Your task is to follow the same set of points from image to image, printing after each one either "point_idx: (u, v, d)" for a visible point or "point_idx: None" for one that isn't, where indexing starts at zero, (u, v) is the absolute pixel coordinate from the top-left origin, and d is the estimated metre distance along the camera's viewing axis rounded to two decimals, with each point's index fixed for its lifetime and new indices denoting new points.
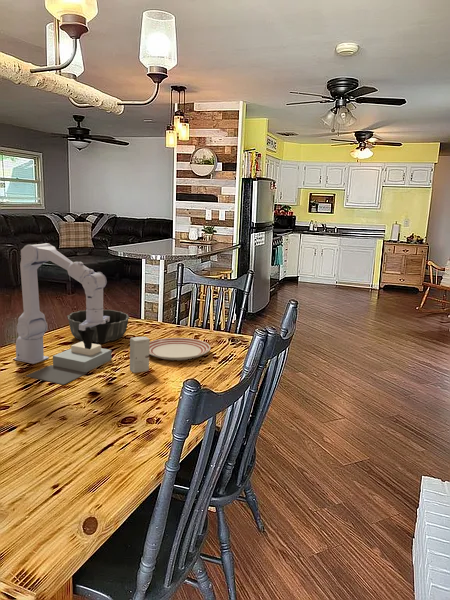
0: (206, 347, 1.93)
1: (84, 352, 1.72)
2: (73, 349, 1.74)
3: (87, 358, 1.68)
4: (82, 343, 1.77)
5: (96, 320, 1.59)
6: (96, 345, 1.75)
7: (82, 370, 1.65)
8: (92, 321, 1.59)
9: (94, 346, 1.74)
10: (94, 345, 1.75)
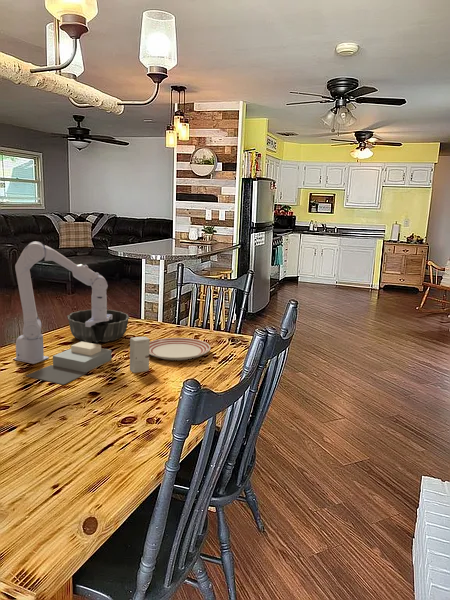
0: (206, 347, 1.93)
1: (84, 352, 1.72)
2: (73, 349, 1.74)
3: (87, 358, 1.68)
4: (82, 343, 1.77)
5: (100, 318, 1.78)
6: (96, 345, 1.75)
7: (82, 370, 1.65)
8: (97, 319, 1.77)
9: (94, 346, 1.74)
10: (94, 345, 1.75)
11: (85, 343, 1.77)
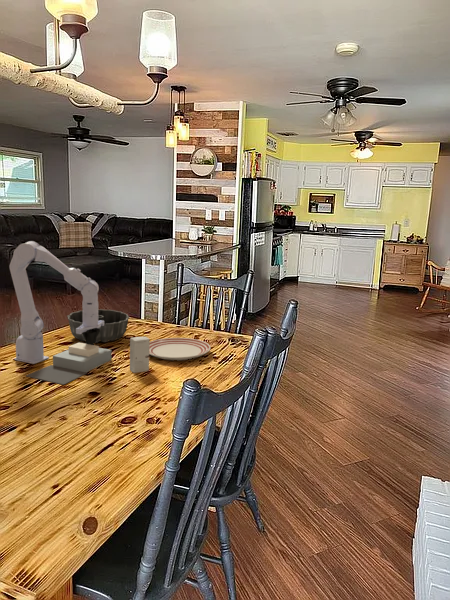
0: (206, 347, 1.93)
1: (82, 354, 1.71)
2: (70, 350, 1.72)
3: (87, 358, 1.68)
4: (79, 344, 1.75)
5: (92, 324, 1.73)
6: (94, 346, 1.74)
7: (82, 370, 1.65)
8: (88, 325, 1.73)
9: (92, 347, 1.73)
10: (92, 346, 1.74)
11: (82, 344, 1.76)
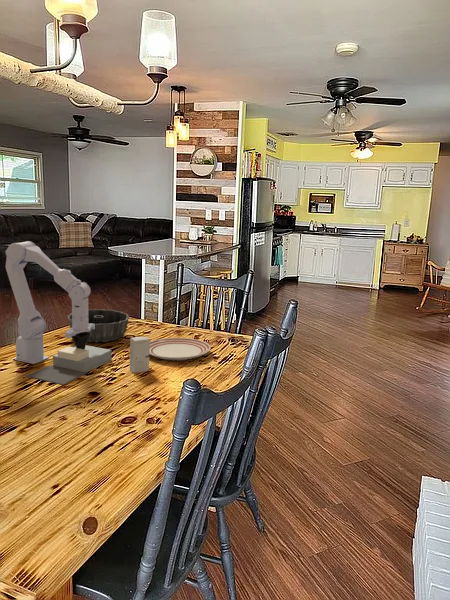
0: (206, 347, 1.93)
1: (71, 358, 1.65)
2: (59, 354, 1.67)
3: (87, 358, 1.68)
4: (69, 348, 1.70)
5: (81, 328, 1.68)
6: (83, 350, 1.69)
7: (82, 370, 1.65)
8: (78, 329, 1.68)
9: (81, 351, 1.67)
10: (81, 350, 1.68)
11: (72, 348, 1.70)
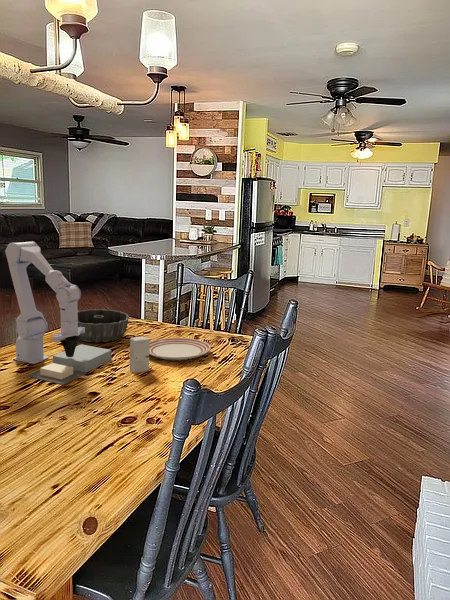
0: (206, 347, 1.93)
1: None
2: None
3: (87, 358, 1.68)
4: None
5: (70, 332, 1.62)
6: None
7: (82, 370, 1.65)
8: (66, 333, 1.62)
9: None
10: None
11: None
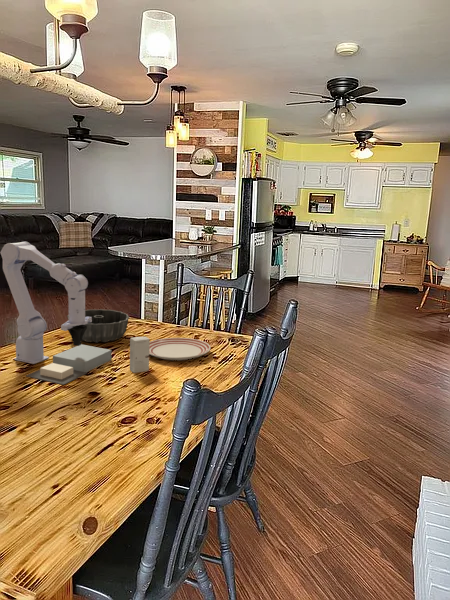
0: (206, 347, 1.93)
1: None
2: None
3: (87, 358, 1.68)
4: None
5: (78, 321, 1.66)
6: None
7: (82, 370, 1.65)
8: (74, 322, 1.65)
9: None
10: None
11: None
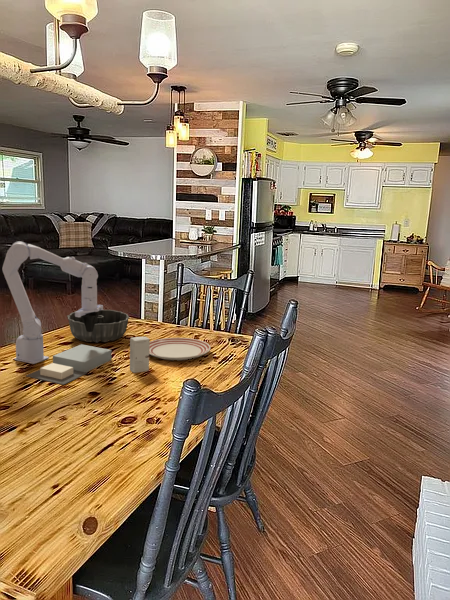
0: (206, 347, 1.93)
1: None
2: None
3: (87, 358, 1.68)
4: None
5: (90, 308, 1.76)
6: None
7: (82, 370, 1.65)
8: (87, 309, 1.76)
9: None
10: None
11: None
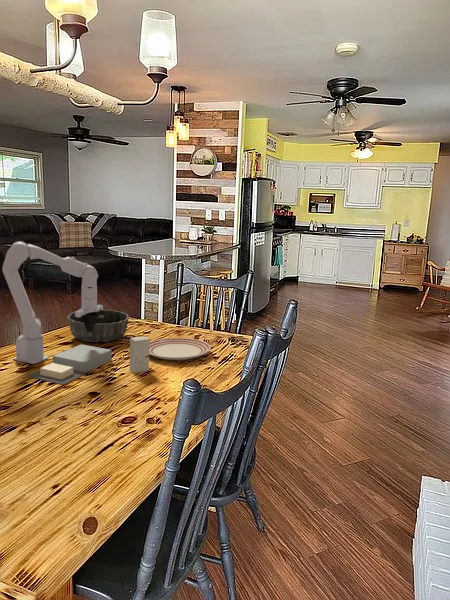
0: (206, 347, 1.93)
1: None
2: None
3: (87, 358, 1.68)
4: None
5: (90, 308, 1.76)
6: None
7: (82, 370, 1.65)
8: (87, 309, 1.76)
9: None
10: None
11: None
